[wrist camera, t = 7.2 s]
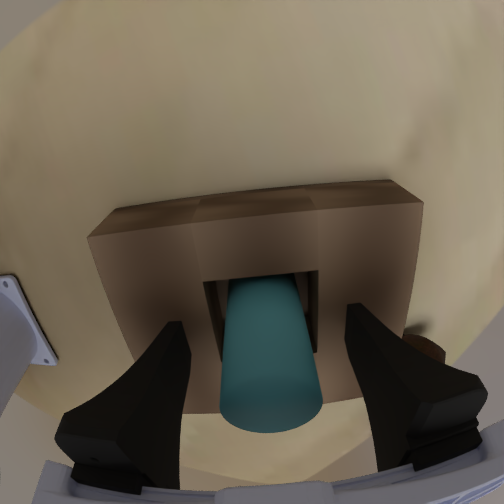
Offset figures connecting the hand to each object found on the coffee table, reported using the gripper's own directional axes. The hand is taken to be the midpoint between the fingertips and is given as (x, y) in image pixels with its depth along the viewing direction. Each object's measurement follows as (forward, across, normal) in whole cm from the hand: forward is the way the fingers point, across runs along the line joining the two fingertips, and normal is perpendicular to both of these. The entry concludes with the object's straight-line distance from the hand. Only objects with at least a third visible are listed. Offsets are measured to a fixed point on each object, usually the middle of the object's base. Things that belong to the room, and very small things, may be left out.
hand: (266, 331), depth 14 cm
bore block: (+4, 0, +1) cm, 4 cm away
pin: (+4, 0, 0) cm, 4 cm away
